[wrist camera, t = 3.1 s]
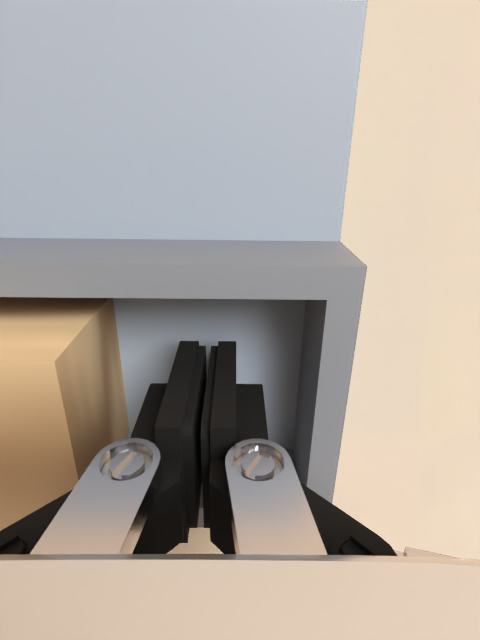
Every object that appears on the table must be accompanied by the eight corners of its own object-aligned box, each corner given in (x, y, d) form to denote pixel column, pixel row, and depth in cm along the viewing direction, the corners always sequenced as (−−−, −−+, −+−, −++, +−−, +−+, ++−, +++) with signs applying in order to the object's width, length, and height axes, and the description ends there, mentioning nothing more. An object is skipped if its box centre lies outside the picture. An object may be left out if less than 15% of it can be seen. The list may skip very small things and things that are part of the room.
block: (-60, 291, 11) (-201, 360, 8) (112, 293, 11) (54, 362, 8) (-17, 429, 13) (-112, 535, 10) (129, 429, 14) (89, 535, 10)
